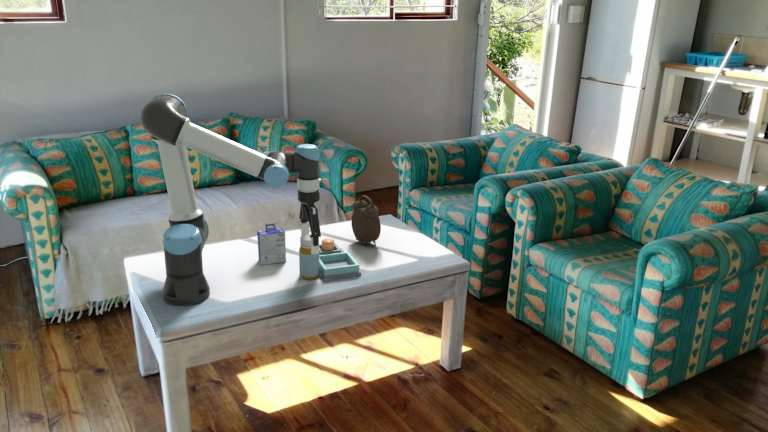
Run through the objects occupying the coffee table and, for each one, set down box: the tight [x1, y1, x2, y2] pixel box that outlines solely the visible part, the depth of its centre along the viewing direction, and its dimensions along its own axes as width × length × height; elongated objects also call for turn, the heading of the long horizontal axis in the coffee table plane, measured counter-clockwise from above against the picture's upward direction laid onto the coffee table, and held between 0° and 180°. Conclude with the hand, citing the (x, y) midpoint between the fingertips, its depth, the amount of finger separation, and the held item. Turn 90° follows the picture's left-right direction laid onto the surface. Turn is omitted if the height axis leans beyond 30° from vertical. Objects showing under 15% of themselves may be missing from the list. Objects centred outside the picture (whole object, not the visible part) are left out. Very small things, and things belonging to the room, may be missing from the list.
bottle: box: [298, 233, 320, 281], centre depth 237 cm, size 7×7×15 cm
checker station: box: [319, 242, 362, 281], centre depth 249 cm, size 14×24×4 cm, turn 21°
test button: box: [321, 238, 335, 251], centre depth 254 cm, size 5×5×5 cm
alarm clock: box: [351, 194, 382, 247], centre depth 268 cm, size 14×7×20 cm, turn 32°
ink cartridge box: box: [256, 223, 287, 266], centre depth 249 cm, size 10×6×14 cm, turn 112°
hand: (310, 246), depth 236 cm, fingers open, 13 cm apart
